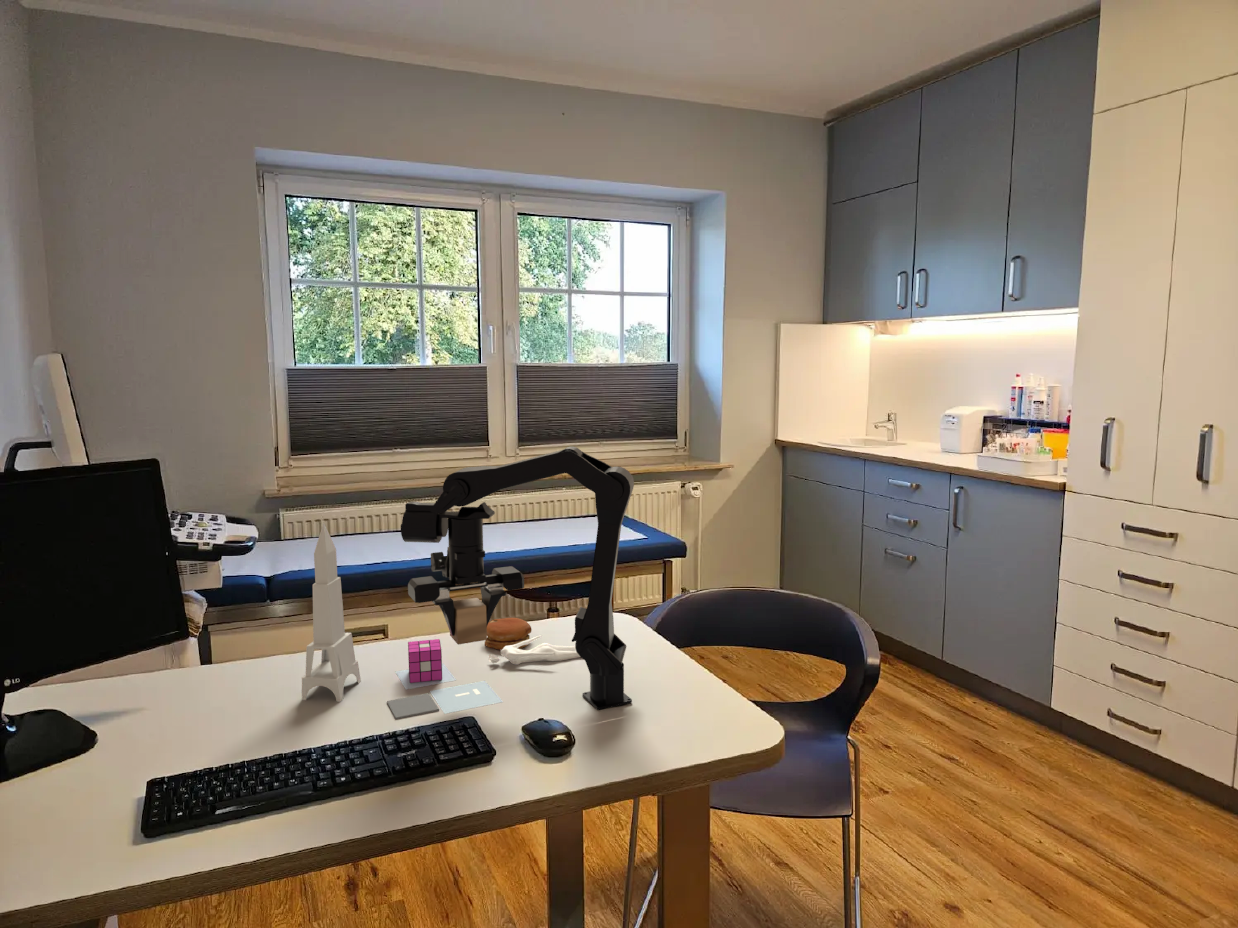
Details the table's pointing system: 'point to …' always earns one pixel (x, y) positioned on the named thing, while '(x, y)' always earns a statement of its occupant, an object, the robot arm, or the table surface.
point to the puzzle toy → (425, 660)
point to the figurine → (536, 653)
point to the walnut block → (469, 621)
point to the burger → (507, 632)
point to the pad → (412, 706)
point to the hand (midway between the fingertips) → (468, 632)
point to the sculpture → (328, 626)
